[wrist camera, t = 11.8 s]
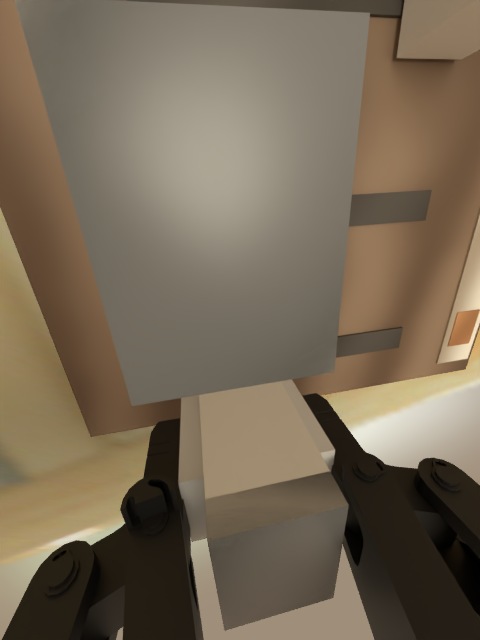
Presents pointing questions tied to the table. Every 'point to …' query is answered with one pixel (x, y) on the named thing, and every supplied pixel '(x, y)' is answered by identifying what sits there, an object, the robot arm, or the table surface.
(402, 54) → the tab
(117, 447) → the table surface
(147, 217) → the tab
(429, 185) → the switch panel
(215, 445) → the tab
